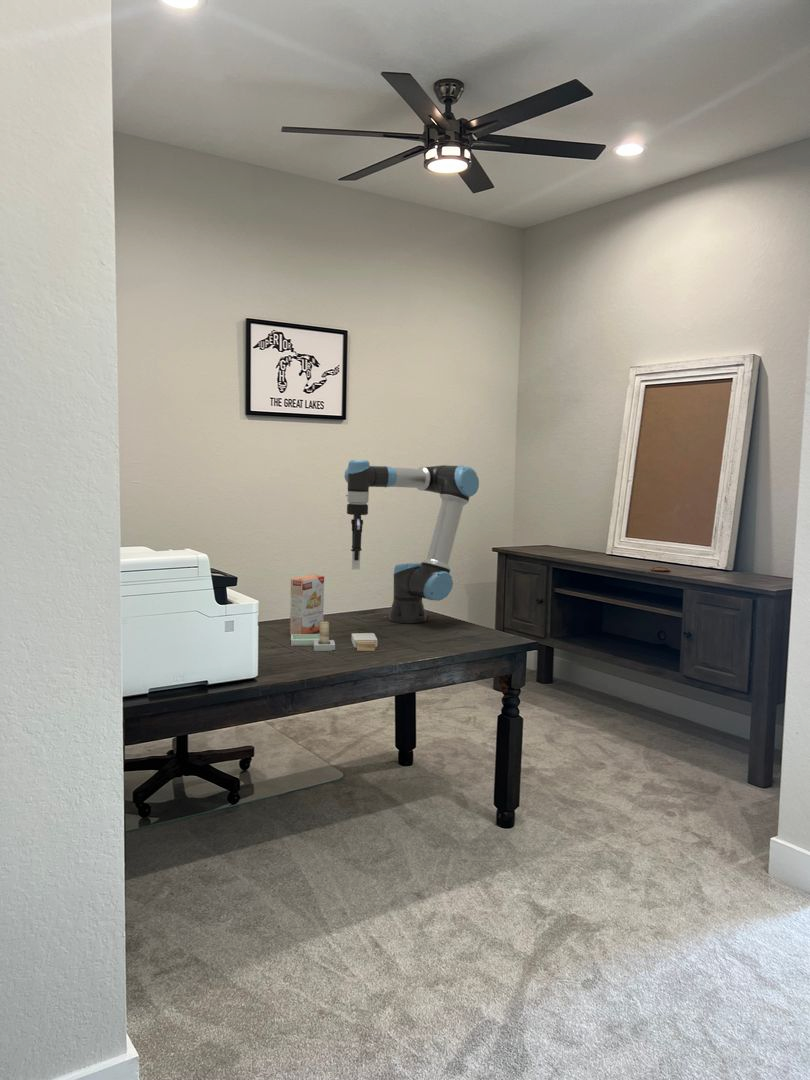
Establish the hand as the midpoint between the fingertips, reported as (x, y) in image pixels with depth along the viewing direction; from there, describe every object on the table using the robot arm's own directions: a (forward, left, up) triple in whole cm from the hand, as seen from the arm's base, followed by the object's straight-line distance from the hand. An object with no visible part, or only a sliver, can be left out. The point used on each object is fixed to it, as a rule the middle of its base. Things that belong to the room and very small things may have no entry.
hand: (355, 569), depth 280 cm
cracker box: (-10, -17, -26) cm, 32 cm away
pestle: (+14, -12, -25) cm, 31 cm away
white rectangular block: (+8, +3, -26) cm, 27 cm away
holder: (+14, -12, -25) cm, 31 cm away
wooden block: (+17, +2, -25) cm, 30 cm away
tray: (+6, -17, -25) cm, 31 cm away
